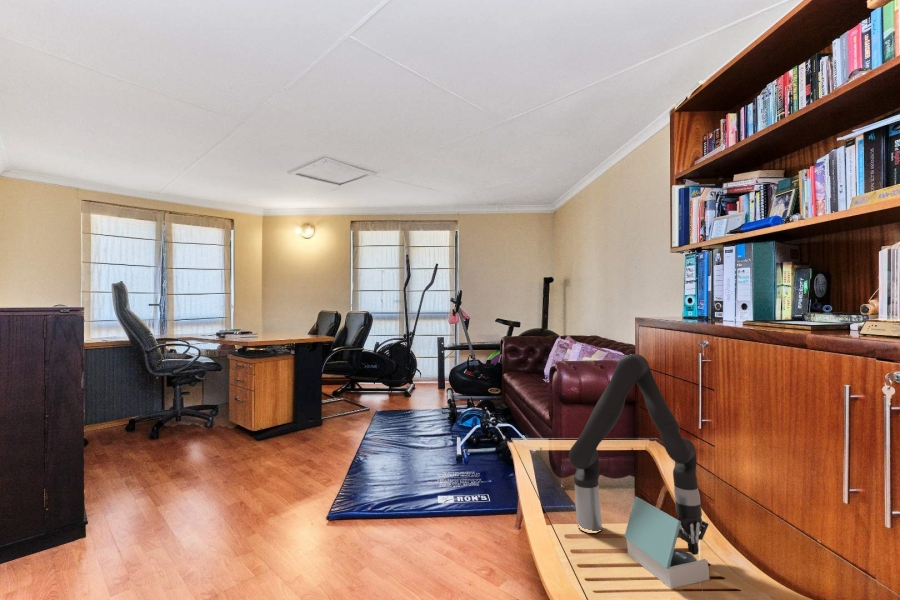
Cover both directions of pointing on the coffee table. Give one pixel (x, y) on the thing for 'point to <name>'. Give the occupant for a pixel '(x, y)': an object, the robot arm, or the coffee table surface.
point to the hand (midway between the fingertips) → (693, 553)
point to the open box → (671, 569)
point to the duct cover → (653, 531)
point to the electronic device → (681, 558)
